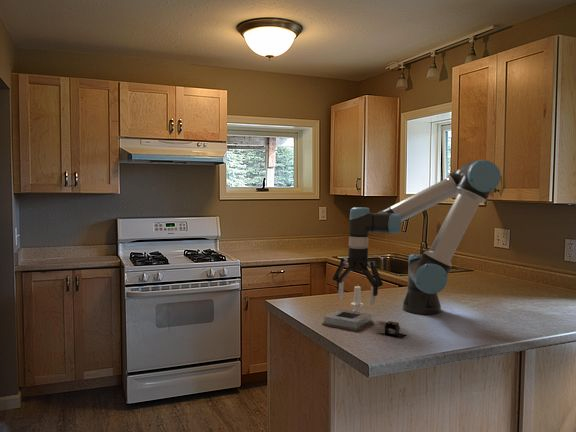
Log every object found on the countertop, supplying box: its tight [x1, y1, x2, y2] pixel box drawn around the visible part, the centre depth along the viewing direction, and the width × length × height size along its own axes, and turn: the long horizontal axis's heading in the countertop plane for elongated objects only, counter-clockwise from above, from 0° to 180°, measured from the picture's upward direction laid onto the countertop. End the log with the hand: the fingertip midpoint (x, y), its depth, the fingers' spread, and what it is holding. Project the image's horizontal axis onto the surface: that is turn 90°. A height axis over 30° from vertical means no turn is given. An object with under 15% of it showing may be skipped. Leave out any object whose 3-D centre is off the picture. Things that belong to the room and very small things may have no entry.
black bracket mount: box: [375, 320, 408, 340], centre depth 171 cm, size 12×7×5 cm, turn 55°
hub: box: [321, 308, 374, 332], centre depth 183 cm, size 14×14×3 cm
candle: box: [350, 285, 364, 313], centre depth 194 cm, size 5×5×12 cm
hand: (356, 301), depth 194 cm, fingers open, 13 cm apart
